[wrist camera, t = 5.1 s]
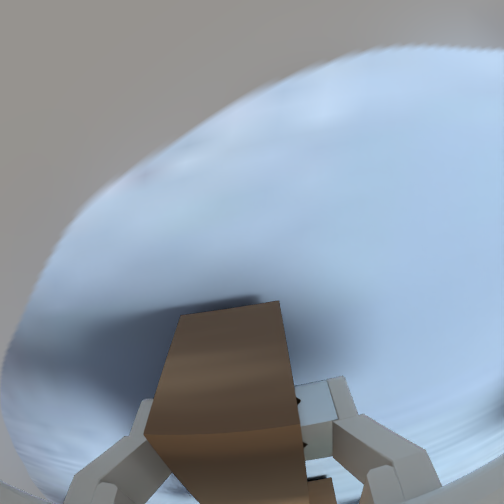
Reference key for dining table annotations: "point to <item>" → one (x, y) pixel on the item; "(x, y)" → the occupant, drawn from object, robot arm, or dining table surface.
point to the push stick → (233, 411)
